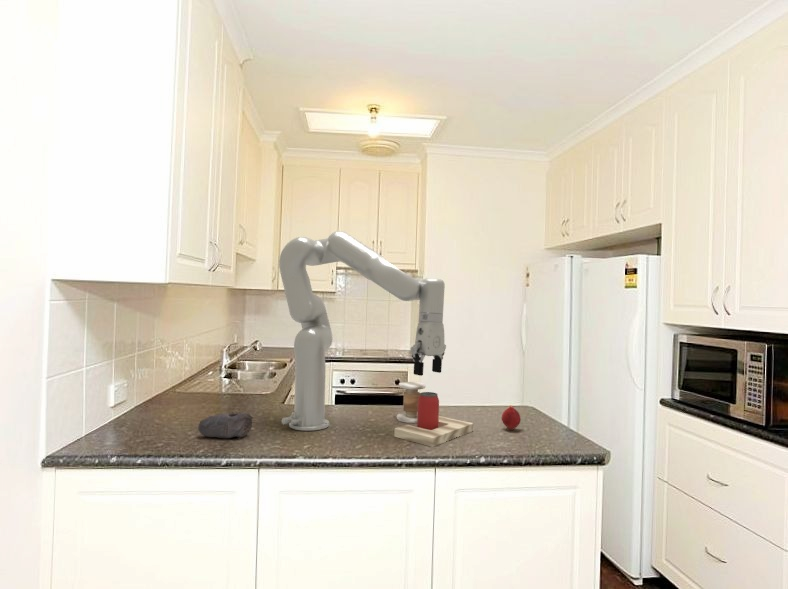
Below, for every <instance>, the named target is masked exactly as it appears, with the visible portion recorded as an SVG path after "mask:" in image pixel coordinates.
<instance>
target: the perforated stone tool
mask: <svg viewBox="0 0 788 589" xmlns="http://www.w3.org/2000/svg"><path fill="white" fill-rule="evenodd" d="M252 418H253V416H252V415H251V414H250V413H239V412H238V413H231V412H230V413H221V414H219V413H218V414H215V415H214V414H213V415H211V416H210V415H209V416H208V417H204V418H203V419H202V420H200V421H199V423H198V427H197V430H198V432H199V433H200V434H201V435H203V436H204V437H207V438H217V439H231V438H234V437H236V438H238V439H239V438H243V437H244V436H246V435H248V434H249V432H250V431H251V429H252V427H253V426H252V424H253V421H252V420H253V419H252Z"/></svg>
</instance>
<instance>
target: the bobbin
mask: <svg viewBox="0 0 788 589" xmlns="http://www.w3.org/2000/svg"><path fill="white" fill-rule="evenodd" d="M398 387H399V388H400V389H404V390H406V391H404V392H403V409H402V410H403V412H401V413H397V415H396V419H397V421H399V422H401V423H402V422H403V423H409V424H417V414H418V398H419V396H420V393H421V392H420V391H419V390H424V389H425V388H426V383H424V382H419V381H418V382H417V381H404V382H403V381H402V382H399V383H398Z"/></svg>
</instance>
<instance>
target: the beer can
mask: <svg viewBox="0 0 788 589" xmlns="http://www.w3.org/2000/svg"><path fill="white" fill-rule="evenodd" d="M438 395H439V394H438V393H436V392H433V391H432V392H431V391H422V392H420V396H419V398H418V412H417V413H418V414H417V423H416V424H417V425H416V427H419V428H423V429H427V430H433V429H436V428H438V425H439V416H440V400H439V397H438Z"/></svg>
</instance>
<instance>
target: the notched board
mask: <svg viewBox="0 0 788 589" xmlns="http://www.w3.org/2000/svg"><path fill="white" fill-rule="evenodd" d="M472 431H474V423H473V422H468V421H466V420H465V421H464V420H459V419H455V418H451V417H446V416H440V415H439V425H438V428H436V429H433V430H427V429H423V428H419V427H417V426H414V425H411V424H404V425H401V426H398V427H394V437H395V438H398V439H402V440H405V441H409V442H413V443H417V444H420V445H423V444H424V446H428V447H431V448H435V447H437V446H439V445H442V444H444V443H447V442H449V440H450V441H452V440H454V438H455V439H457V438H459V436H460V437H462V436H464V434H465V435H467V434H469V433H472ZM456 437H457V438H456ZM451 439H452V440H451ZM446 441H447V442H446Z"/></svg>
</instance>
